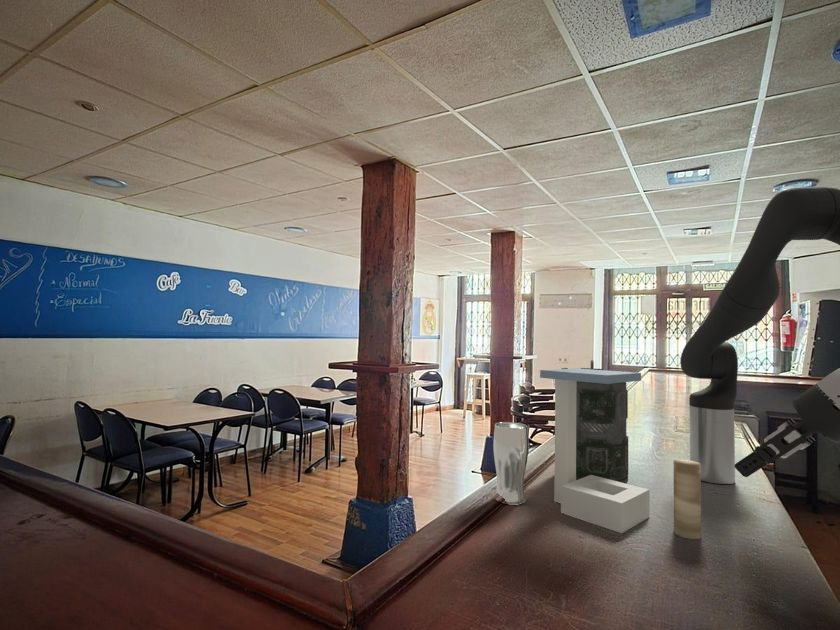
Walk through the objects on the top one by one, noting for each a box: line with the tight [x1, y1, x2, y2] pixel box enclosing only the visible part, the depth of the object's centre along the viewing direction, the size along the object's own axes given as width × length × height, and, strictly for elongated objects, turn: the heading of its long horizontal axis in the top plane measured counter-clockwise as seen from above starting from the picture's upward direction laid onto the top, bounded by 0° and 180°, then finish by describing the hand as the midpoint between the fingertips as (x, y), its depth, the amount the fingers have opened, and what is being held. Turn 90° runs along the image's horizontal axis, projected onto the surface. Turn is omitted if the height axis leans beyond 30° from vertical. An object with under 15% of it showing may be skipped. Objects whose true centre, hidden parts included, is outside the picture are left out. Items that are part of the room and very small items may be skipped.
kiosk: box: [539, 368, 651, 534], centre depth 87 cm, size 14×16×26 cm
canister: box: [561, 359, 629, 484], centre depth 107 cm, size 16×16×28 cm
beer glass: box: [492, 421, 529, 504], centre depth 92 cm, size 7×7×15 cm
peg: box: [673, 458, 702, 540], centre depth 77 cm, size 4×4×12 cm
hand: (746, 466), depth 71 cm, fingers open, 8 cm apart
